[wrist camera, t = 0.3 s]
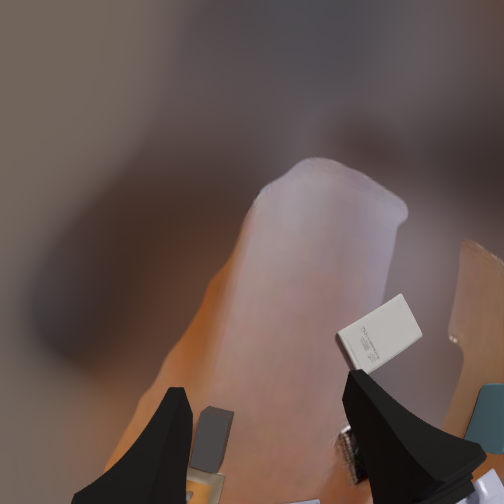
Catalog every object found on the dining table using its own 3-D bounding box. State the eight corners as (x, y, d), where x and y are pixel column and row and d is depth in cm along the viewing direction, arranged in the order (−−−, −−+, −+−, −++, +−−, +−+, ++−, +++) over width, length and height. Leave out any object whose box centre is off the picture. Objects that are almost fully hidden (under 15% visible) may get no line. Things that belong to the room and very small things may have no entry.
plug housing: (209, 405, 36) (200, 412, 31) (234, 411, 36) (229, 419, 31) (198, 455, 33) (189, 466, 28) (223, 461, 33) (217, 473, 28)
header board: (225, 474, 32) (221, 484, 28) (215, 517, 28) (210, 529, 24) (141, 447, 33) (130, 454, 29) (135, 491, 30) (125, 499, 26)
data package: (475, 444, 28) (514, 454, 17) (460, 444, 29) (500, 456, 18) (494, 386, 32) (536, 384, 20) (481, 383, 32) (524, 382, 21)
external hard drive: (418, 337, 38) (358, 378, 37) (397, 295, 41) (335, 332, 40) (423, 336, 37) (361, 379, 35) (401, 292, 39) (338, 331, 38)
